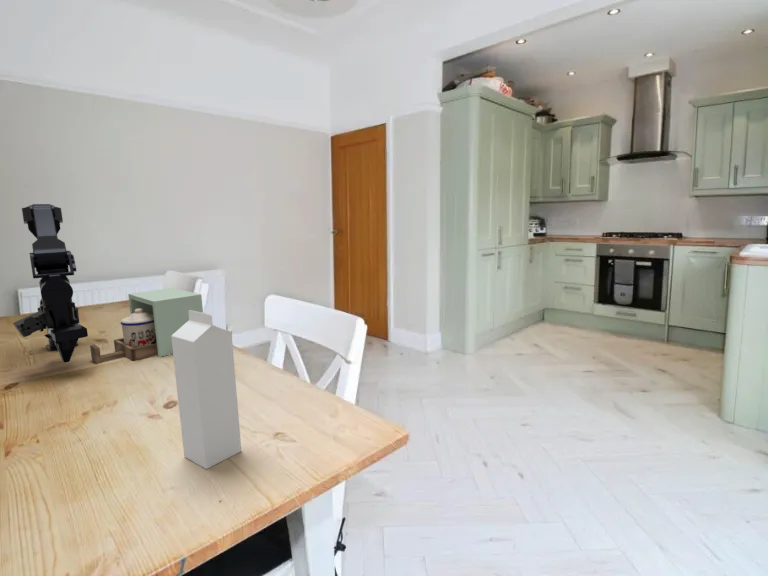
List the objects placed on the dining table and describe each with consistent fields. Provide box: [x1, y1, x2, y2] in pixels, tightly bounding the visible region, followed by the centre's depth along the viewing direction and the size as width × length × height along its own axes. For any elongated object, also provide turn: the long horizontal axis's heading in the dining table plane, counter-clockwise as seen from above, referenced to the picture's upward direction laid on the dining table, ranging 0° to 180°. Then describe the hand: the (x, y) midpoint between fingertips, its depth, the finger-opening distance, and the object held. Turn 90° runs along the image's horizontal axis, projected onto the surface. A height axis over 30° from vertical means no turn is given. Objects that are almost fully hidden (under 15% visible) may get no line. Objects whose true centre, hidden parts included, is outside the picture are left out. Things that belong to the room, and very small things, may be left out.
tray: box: [89, 337, 158, 365], centre depth 119 cm, size 14×23×4 cm, turn 137°
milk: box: [171, 310, 242, 470], centre depth 64 cm, size 6×6×22 cm
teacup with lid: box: [120, 309, 157, 348], centre depth 120 cm, size 12×9×12 cm
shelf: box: [127, 287, 204, 358], centre depth 123 cm, size 19×12×15 cm, turn 47°
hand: (66, 362), depth 106 cm, fingers closed
